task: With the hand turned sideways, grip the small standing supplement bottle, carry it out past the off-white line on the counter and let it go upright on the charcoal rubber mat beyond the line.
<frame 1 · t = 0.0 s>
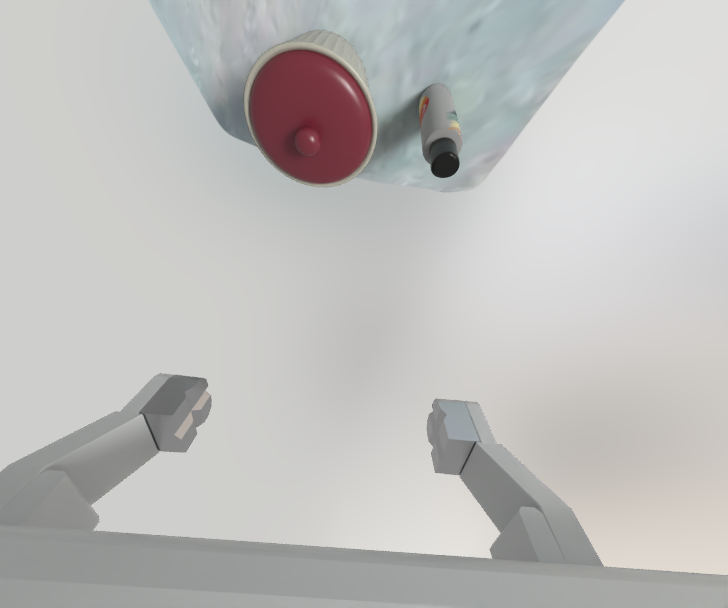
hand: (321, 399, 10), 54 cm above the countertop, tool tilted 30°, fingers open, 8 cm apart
canister: (328, 80, 47), on the countertop
lotion bottle: (434, 101, 48), on the countertop
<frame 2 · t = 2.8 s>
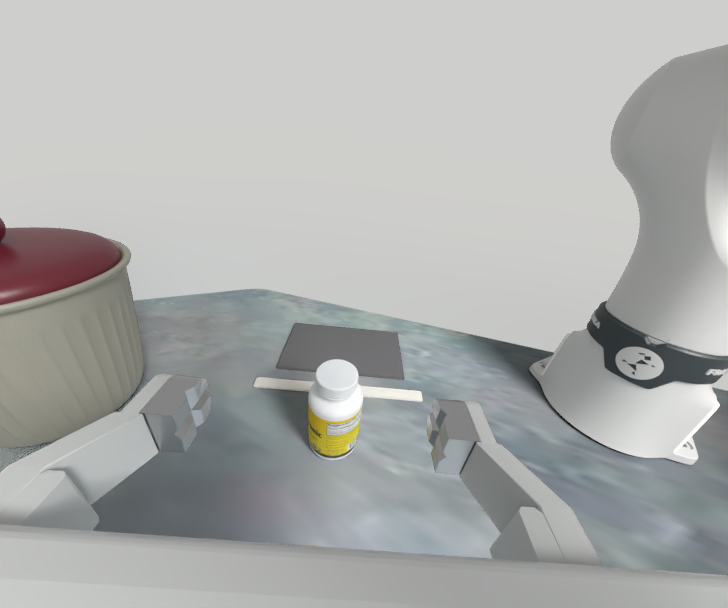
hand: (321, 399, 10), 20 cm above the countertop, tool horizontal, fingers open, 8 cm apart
supplement bottle: (332, 439, 30), on the countertop
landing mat: (344, 349, 44), on the countertop
throw line: (339, 390, 36), on the countertop
canister: (75, 401, 31), on the countertop
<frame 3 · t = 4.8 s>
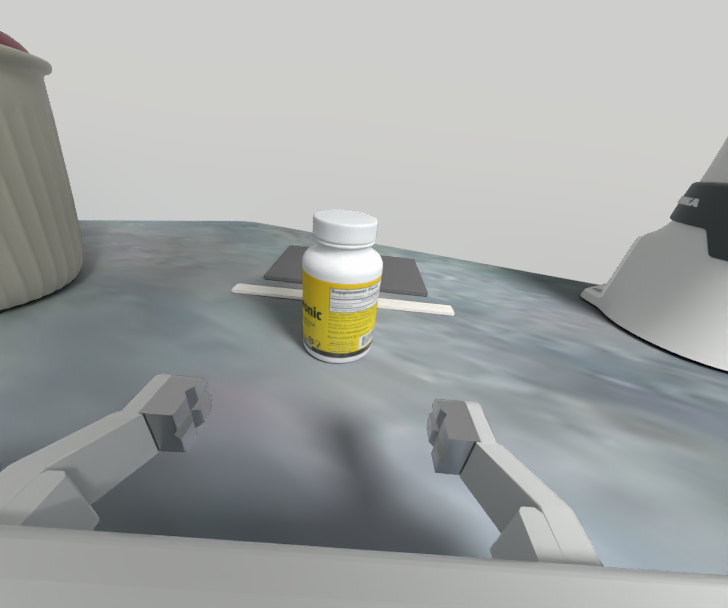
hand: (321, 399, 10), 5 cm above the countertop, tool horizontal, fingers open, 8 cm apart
supplement bottle: (337, 344, 22), on the countertop
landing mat: (349, 269, 35), on the countertop
throw line: (344, 300, 28), on the countertop
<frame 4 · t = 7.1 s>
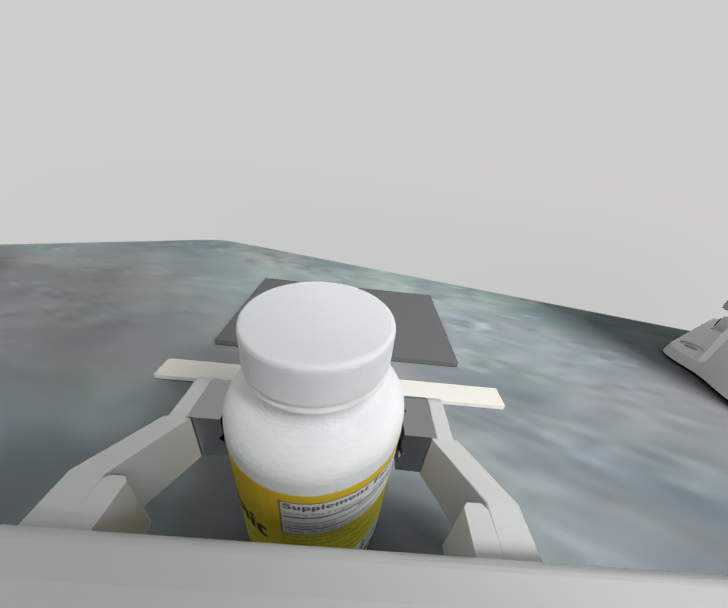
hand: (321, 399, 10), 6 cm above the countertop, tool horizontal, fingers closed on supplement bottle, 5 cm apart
supplement bottle: (314, 507, 12), on the countertop, touching gripper
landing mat: (344, 316, 25), on the countertop
throw line: (334, 385, 18), on the countertop
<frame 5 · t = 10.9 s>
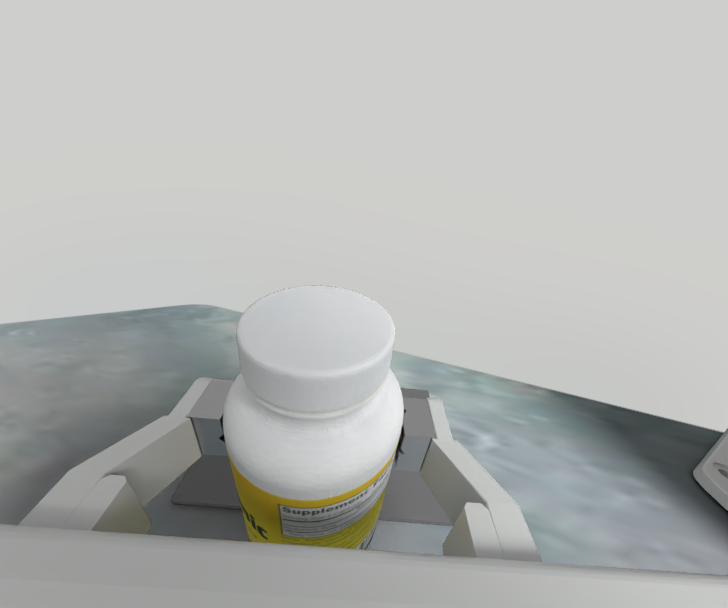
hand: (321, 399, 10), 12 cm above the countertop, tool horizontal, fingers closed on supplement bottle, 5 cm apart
supplement bottle: (314, 509, 12), point 6 cm above the countertop, touching gripper
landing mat: (329, 435, 22), on the countertop
when the fingers open (7 cm above the countertop, at t = 14.6 s): supplement bottle drops 1 cm, resting on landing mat.
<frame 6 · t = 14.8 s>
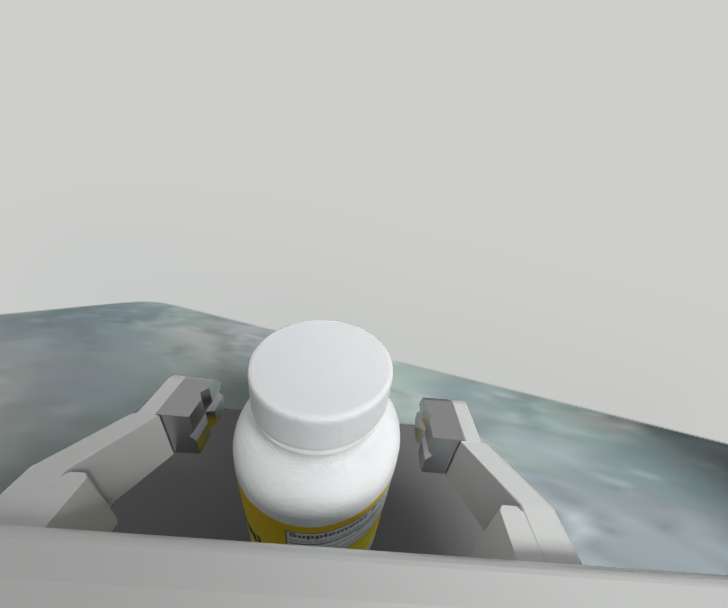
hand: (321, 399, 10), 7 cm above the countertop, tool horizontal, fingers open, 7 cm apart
supplement bottle: (315, 522, 13), resting on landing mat
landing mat: (313, 524, 13), on the countertop
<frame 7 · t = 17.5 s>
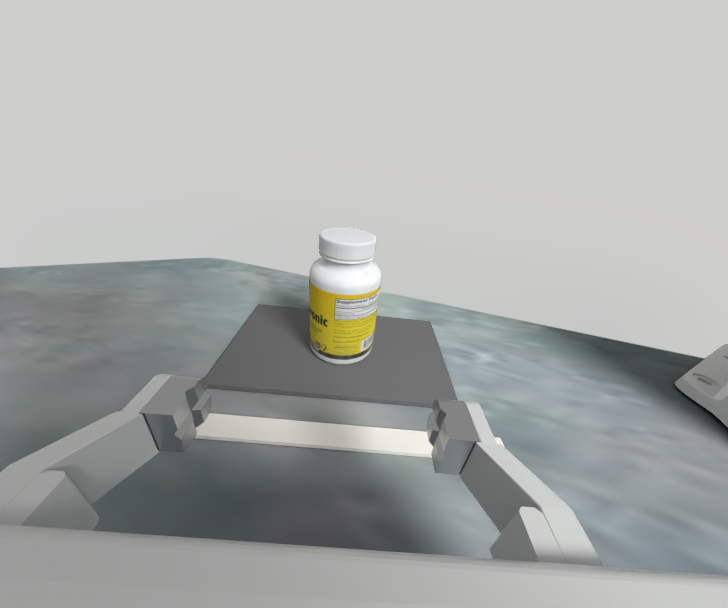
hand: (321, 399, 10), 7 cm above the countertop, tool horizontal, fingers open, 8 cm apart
supplement bottle: (340, 347, 24), resting on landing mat
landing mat: (340, 349, 24), on the countertop
throw line: (327, 437, 17), on the countertop
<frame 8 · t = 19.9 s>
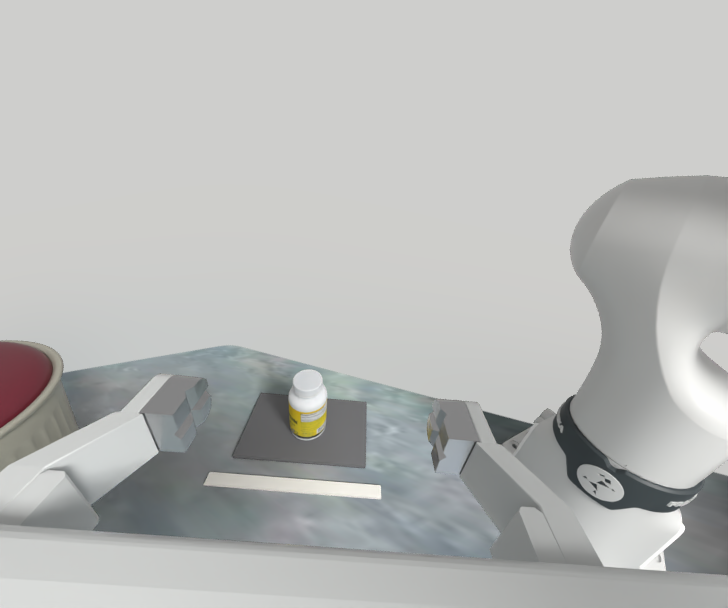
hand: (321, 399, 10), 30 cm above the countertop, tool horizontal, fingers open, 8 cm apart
supplement bottle: (308, 426, 42), resting on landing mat
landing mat: (307, 427, 42), on the countertop
throw line: (294, 486, 35), on the countertop
canister: (10, 513, 30), on the countertop
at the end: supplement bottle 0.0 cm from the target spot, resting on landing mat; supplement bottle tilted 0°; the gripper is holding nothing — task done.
